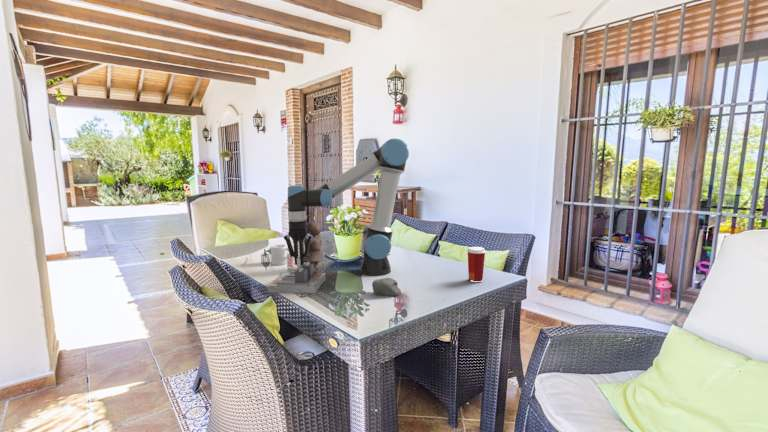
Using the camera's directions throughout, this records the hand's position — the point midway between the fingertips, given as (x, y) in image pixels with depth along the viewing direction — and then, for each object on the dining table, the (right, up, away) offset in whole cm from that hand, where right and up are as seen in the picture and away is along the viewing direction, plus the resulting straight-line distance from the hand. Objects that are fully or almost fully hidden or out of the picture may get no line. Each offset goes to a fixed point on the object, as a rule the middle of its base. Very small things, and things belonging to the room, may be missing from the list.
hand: (299, 271), depth 173 cm
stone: (+40, -7, -16) cm, 43 cm away
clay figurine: (+2, -2, +21) cm, 22 cm away
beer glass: (+80, -4, 0) cm, 80 cm away
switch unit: (0, -6, -4) cm, 7 cm away
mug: (-17, -1, +34) cm, 38 cm away
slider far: (+4, -2, 0) cm, 4 cm away
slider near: (+3, -3, -10) cm, 11 cm away
